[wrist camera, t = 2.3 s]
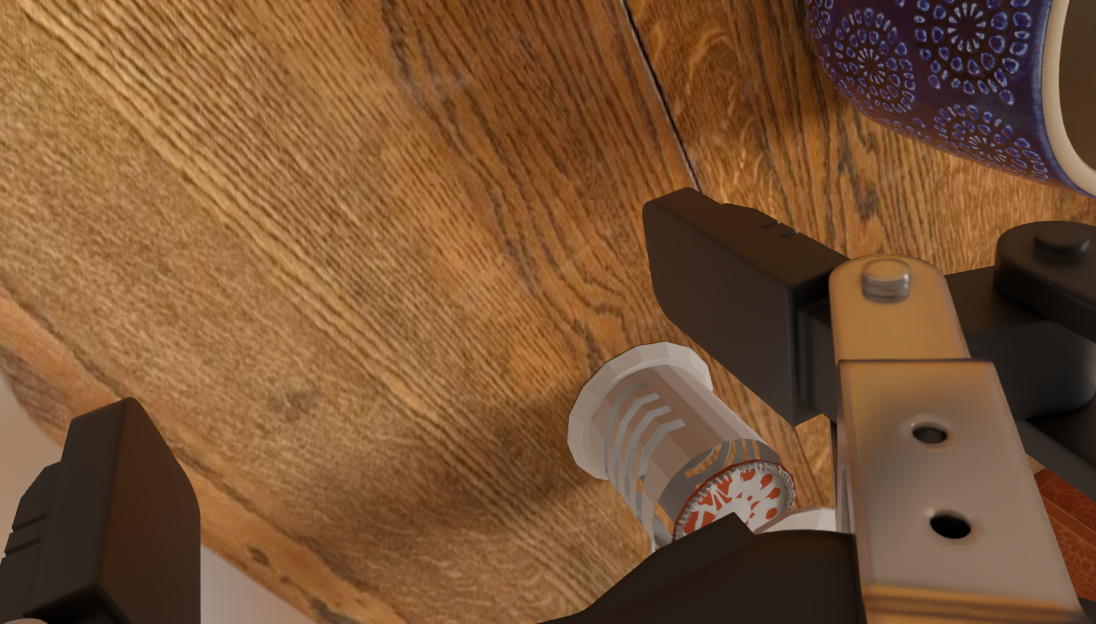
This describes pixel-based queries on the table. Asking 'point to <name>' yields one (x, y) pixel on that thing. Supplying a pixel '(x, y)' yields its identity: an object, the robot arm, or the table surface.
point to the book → (1072, 529)
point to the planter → (972, 78)
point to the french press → (679, 448)
